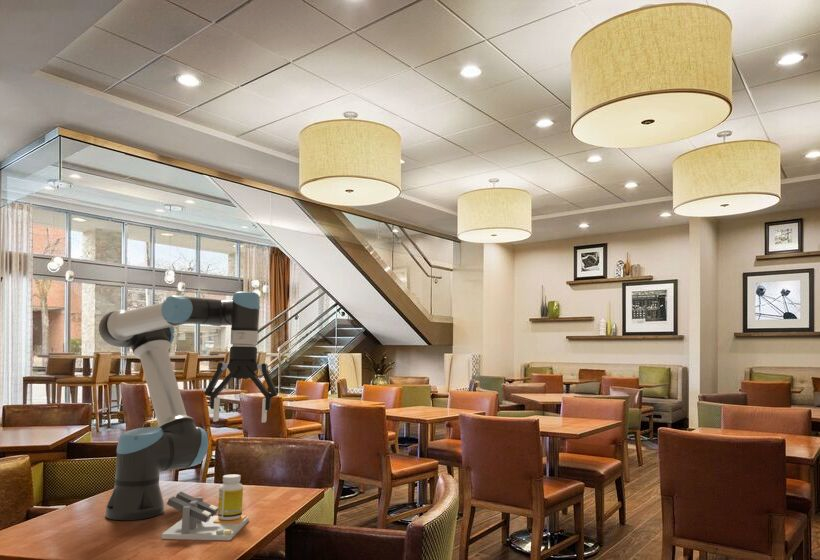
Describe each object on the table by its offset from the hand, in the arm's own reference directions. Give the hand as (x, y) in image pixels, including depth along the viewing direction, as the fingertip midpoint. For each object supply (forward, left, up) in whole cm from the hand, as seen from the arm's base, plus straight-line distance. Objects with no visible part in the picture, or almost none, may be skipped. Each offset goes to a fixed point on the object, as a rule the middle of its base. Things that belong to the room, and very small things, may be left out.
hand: (239, 421), depth 173 cm
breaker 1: (-8, -16, -20) cm, 27 cm away
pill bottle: (0, -4, -25) cm, 26 cm away
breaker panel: (-5, -10, -27) cm, 29 cm away
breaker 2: (-8, -10, -20) cm, 24 cm away
